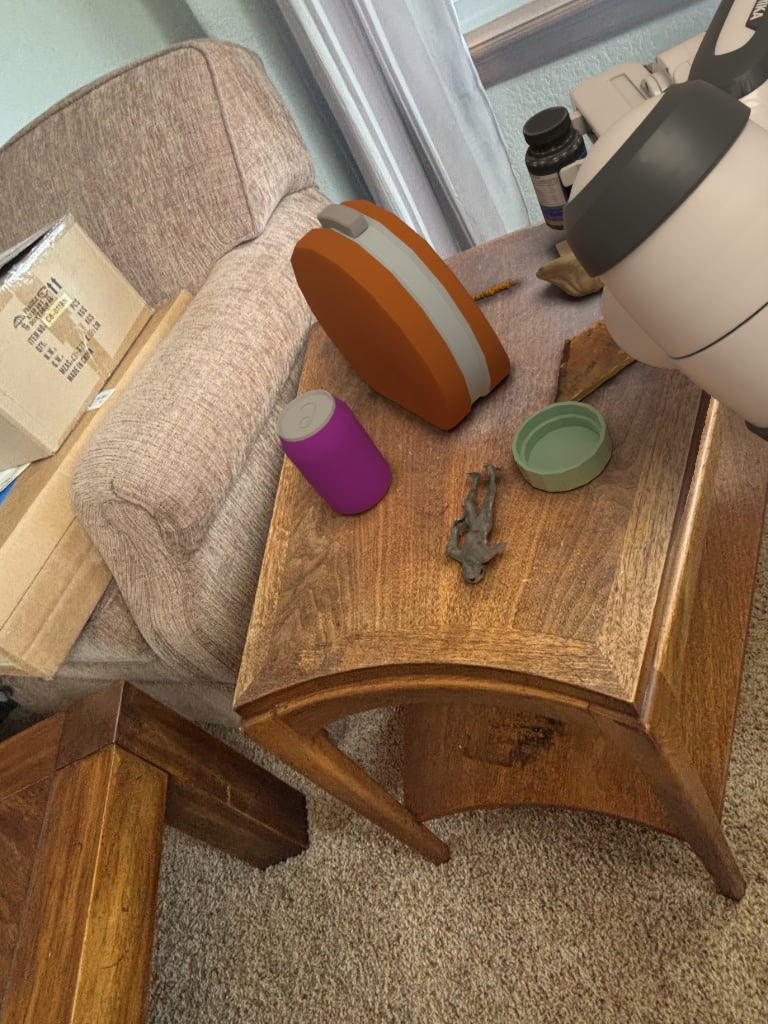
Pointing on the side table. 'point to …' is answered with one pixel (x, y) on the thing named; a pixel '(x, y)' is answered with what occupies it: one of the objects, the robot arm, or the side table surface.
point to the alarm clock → (398, 312)
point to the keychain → (494, 289)
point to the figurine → (475, 530)
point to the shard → (588, 362)
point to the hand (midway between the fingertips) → (551, 162)
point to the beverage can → (333, 451)
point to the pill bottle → (551, 159)
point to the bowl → (562, 446)
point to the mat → (563, 248)
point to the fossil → (569, 276)
